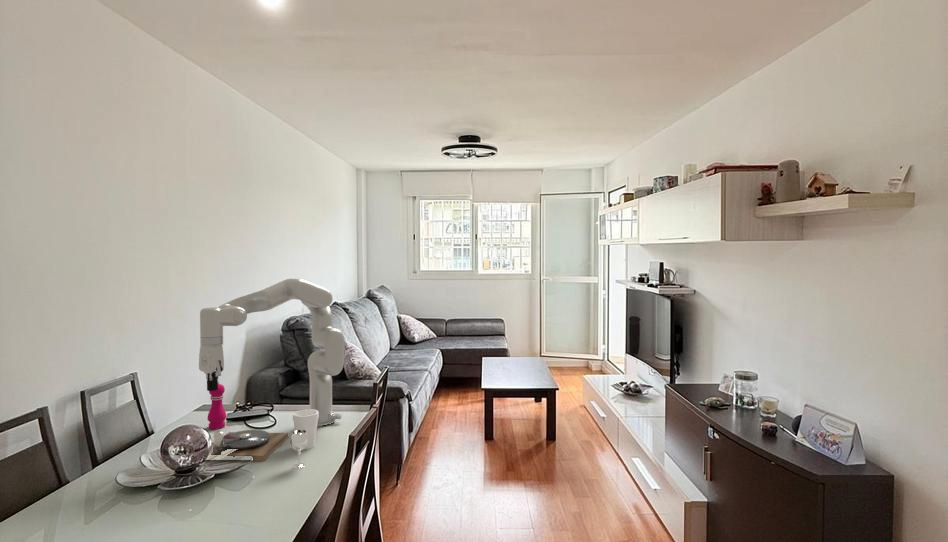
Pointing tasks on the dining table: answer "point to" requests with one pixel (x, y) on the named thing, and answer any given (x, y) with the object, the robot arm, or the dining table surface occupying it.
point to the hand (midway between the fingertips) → (212, 390)
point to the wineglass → (299, 445)
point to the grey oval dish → (239, 440)
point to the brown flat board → (260, 447)
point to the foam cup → (307, 424)
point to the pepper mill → (217, 409)
